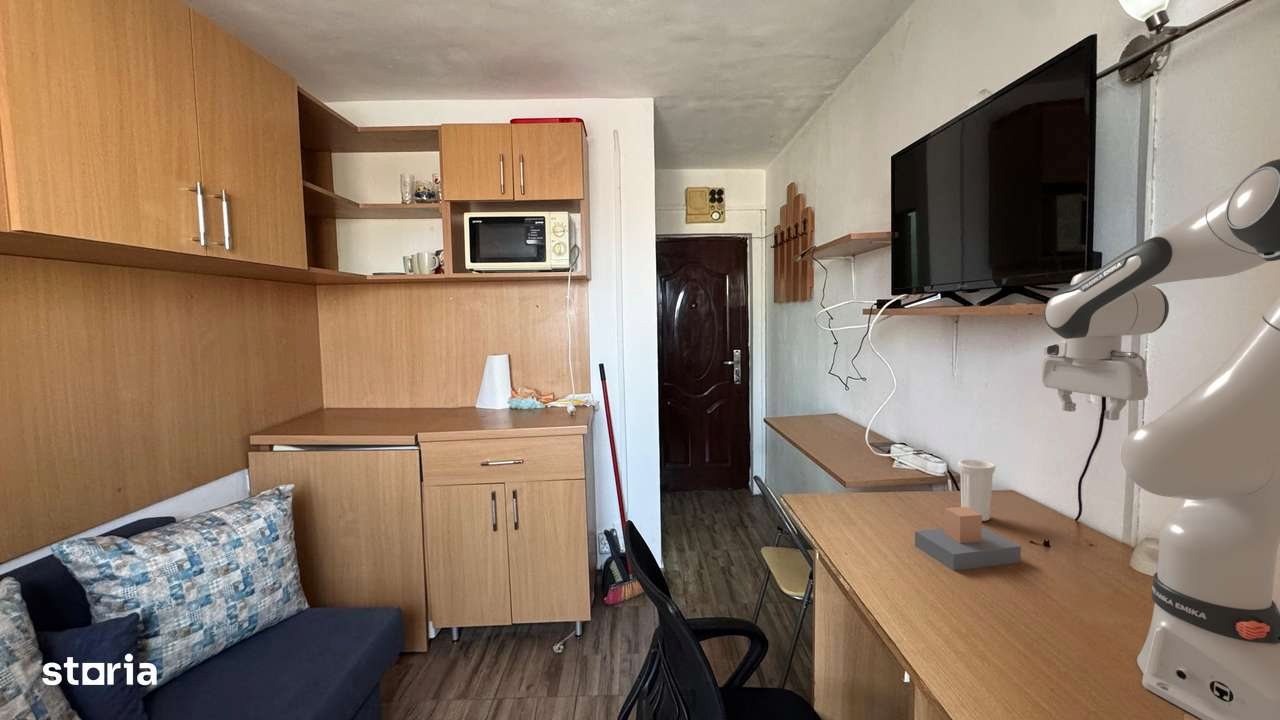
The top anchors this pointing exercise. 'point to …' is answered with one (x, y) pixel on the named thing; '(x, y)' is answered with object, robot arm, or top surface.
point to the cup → (976, 485)
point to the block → (963, 524)
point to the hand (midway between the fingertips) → (1089, 415)
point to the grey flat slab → (967, 549)
